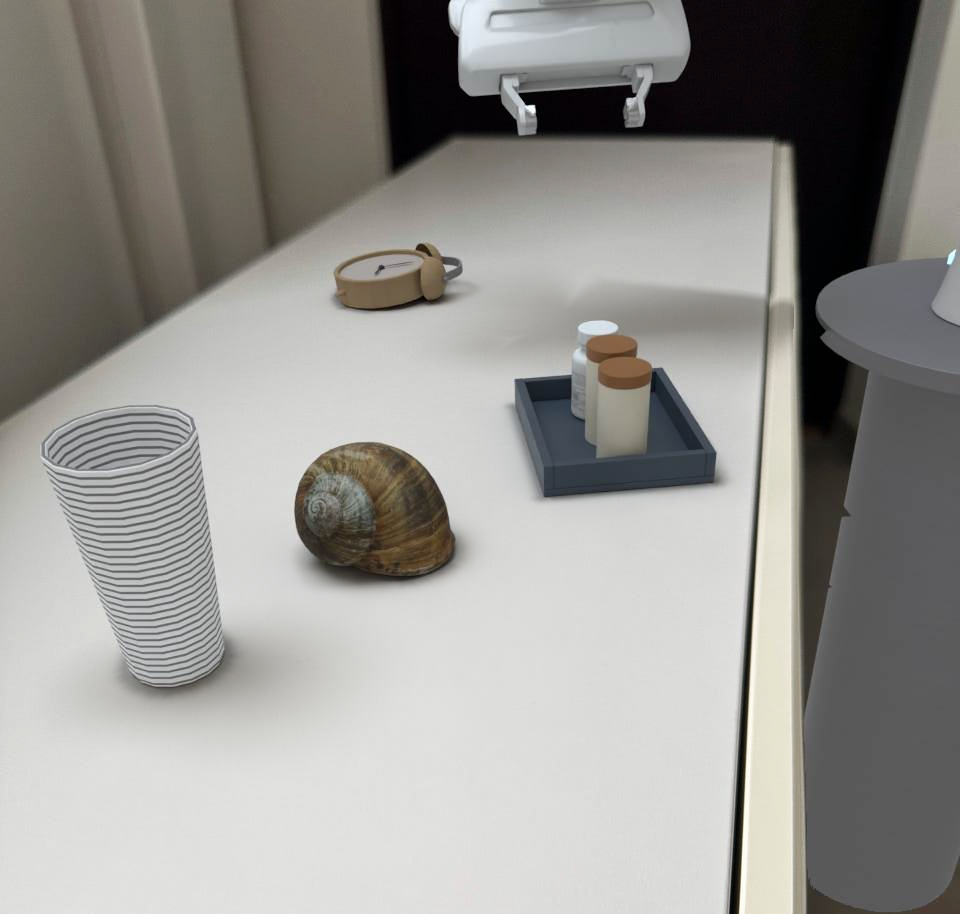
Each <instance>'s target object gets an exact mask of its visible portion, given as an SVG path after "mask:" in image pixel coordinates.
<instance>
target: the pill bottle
mask: <svg viewBox="0 0 960 914" xmlns="http://www.w3.org/2000/svg"><path fill="white" fill-rule="evenodd" d="M608 334H616V335H619V326H618V325H617V324H616V323H615V322H612V321H609V320H603V319H602V320H601V319H599V320H598V319H597V320H589V321H585V322H583V323H580V324H579V325H578V327H577V339H576V340H577V345H578V348H577V349H575V350H574V352H573V354H572V357H571V375H572V395H571V410H572V413H573V415H574V416H576V417H577V418H579V419H582V420H585V407H586V358H587V357H586V343H587V341H588V340H589V339H591V338H593V337H596V336H600V335H608Z"/></svg>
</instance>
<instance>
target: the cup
mask: <svg viewBox="0 0 960 914" xmlns="http://www.w3.org/2000/svg"><path fill="white" fill-rule="evenodd" d="M195 420H196V419H195V418H194V417H192V416H191V415H189V414H188V413H186V412H184V411H182V410H181V409H179V408H174V407H168V406H163V405H158V404H135V405H133V404H132V405H130V404H129V405H124V406H117V407H111V408H105V409H99V410H97V411H93V412H90V413H87V414H84V415H80V416H77V417H75V418H72V419H70V420H69V421H67V422H65V423H63V424H62V425H60V426H58V427H56V428H54V429H52V430H51V432H50V433H48V435H47V436H46V437H45V439H43V441H42V442H41V443H40V447H39V448H40V449H39V450H40V459H41V463H42V464H43V467H44V469H45V472H46V474H47V476H48V479H49V482H50V483H51V485H52V489H53V491H54V493H55V496H56V498H57V500H58V502H59V506H60V507H61V510H62V512H63V514H64V517H65V519H66V522H67V525H68V527H69V529H70V531H71V534H72V536H73V538H74V541H75V544H76V546H77V548H78V551H79V553H80V555H81V557H82V560H83V562H84V565H85V567H86V570H87V572H88V574H89V578H90V579H91V582H92V584H93V586H94V588H95V591H96V594H97V596H98V598H99V601H100V603H101V606H102V608H103V611H104V613H105V615H106V618H107V620H108V622H109V625H110V628H111V630H112V632H113V634H114V637H115V639H116V643H117V644H118V647H119V648H120V651H121V654H122V656H123V658H124V661H125V663H126V666H127V668H128V670H129V673H131V675H133V676H134V678H135V679H137V680H138V681H139V682H140V683H142V684H145V685H149V686H152V687H154V688H155V687H156V688H157V687H158V688H159V687H160V688H161V687H164V688H165V687H168V688H169V687H172V688H173V687H177V686H182V685H186V684H190V683H194V682H196V681H197V680H199V679H201V678H204V677H206V676H208V675H209V674H210V673H211V672H212V671H214V670H215V669H216V668H217V667H218V666H219V665H220V663H221V661H222V659H223V657H224V654H225V651H226V649H225V642H224V634H223V633H224V632H223V625H222V624H223V623H222V618H221V609H220V601H219V592H218V585H217V575H216V569H215V568H216V567H215V559H214V553H213V545H212V536H211V528H210V519H209V512H208V511H209V510H208V504H207V496H206V488H205V478H204V471H203V463H202V455H201V446H200V439H199V431H198V427H197V424H196V421H195Z"/></svg>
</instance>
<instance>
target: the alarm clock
mask: <svg viewBox="0 0 960 914" xmlns="http://www.w3.org/2000/svg"><path fill="white" fill-rule="evenodd" d="M445 266H453V267H455V268H453V269H450V270H449V271H447V270H446V268H445ZM463 271H464V269H463V261H462V260H461V259H460V258H458V257H454V256H447V255H446V256H445V255H442V254H441V253H440V251H439V249H438V248H437V247H436V246H435V245H433V244H431V243H429V242H420V243H418V244H417V245H416V246H415V249H409V248H398V249H397V248H394V249H393V248H392V249H385V250H378V251H377V250H376V251H373V252H368V253H363V254H361V255H356V256H353V257H352V258H349V259H347V260H344V261H343V262H341V263H340V264H338V265H337V266H335V268H334V270H333V272H332V273H333V276H334V281H335V285H336V286H335V287H336V290H337V291H336V293H334V297H335V298H336V299H337V298H338V300H339V302H340V304H342V305H345V306H347V307H350V308H356V309H380V308H389V307H394V306H398V305H402V304H406V303H409V302H412V301H414V300H418V299H419V298H421V297H423V296H424V298H425V299H426V300H427V301H434V300H436V299H438V298H440V297H441V296H443V294H444V292H445V290H446V287H447V282H448V281H451V280H454V279H455V278H458V277H459V276H460V275H462V273H463Z"/></svg>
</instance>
